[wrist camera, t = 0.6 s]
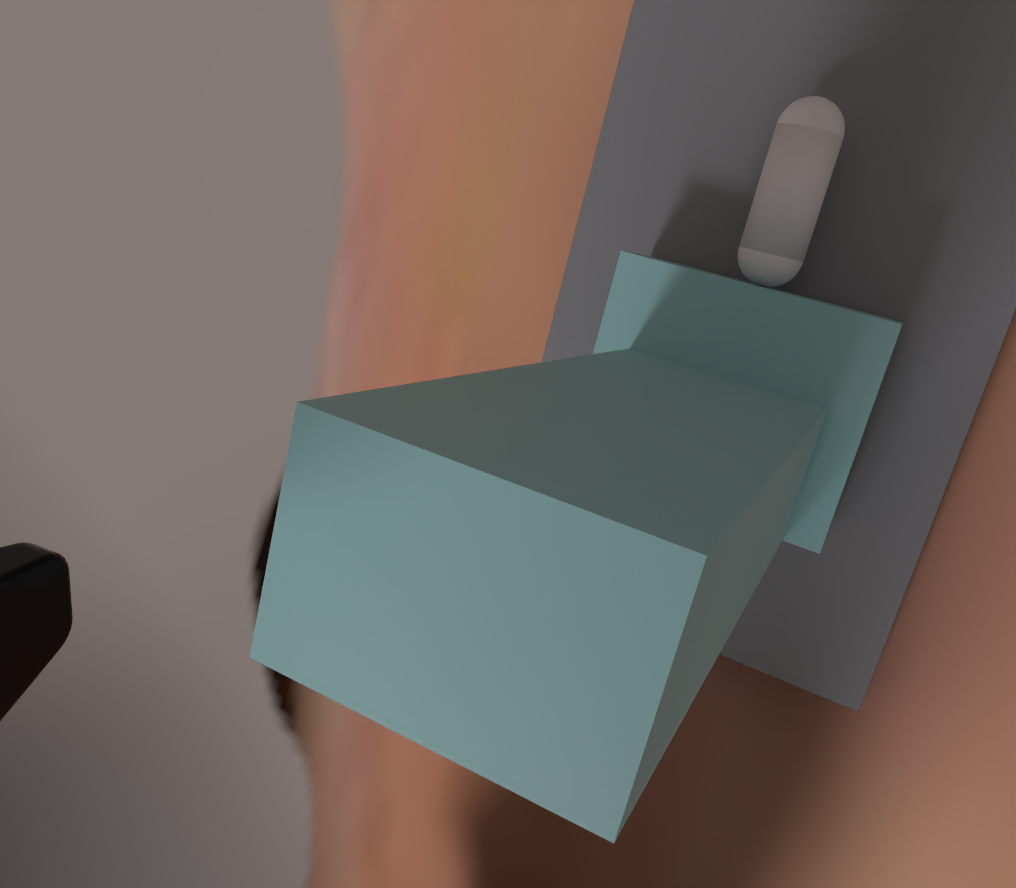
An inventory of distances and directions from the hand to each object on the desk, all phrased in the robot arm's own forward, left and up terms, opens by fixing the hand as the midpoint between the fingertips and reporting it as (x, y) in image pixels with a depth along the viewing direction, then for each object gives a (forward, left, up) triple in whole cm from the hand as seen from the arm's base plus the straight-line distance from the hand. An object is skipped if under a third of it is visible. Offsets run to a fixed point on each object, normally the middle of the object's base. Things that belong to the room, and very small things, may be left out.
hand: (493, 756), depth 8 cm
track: (+7, +1, -17) cm, 18 cm away
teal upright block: (+4, +1, -15) cm, 15 cm away
